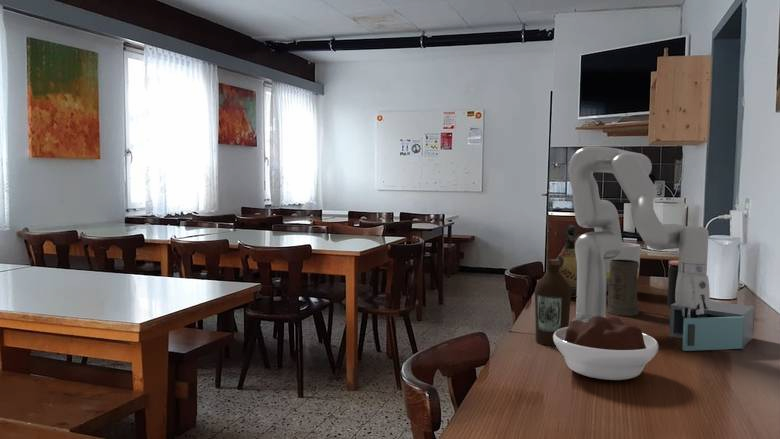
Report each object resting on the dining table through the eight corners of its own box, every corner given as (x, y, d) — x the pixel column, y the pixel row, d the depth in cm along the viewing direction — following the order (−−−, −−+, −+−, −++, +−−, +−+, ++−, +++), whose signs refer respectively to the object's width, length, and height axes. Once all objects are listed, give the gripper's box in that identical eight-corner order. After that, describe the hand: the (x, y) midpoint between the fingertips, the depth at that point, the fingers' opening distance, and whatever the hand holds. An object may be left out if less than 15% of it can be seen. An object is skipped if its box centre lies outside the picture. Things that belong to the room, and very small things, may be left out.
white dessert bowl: (575, 354, 170) (576, 301, 169) (669, 372, 155) (671, 314, 154) (535, 375, 151) (536, 316, 150) (638, 399, 135) (641, 333, 134)
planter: (591, 295, 258) (593, 245, 257) (590, 287, 277) (592, 241, 275) (641, 298, 253) (642, 247, 251) (636, 290, 271) (638, 242, 270)
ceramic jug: (588, 300, 247) (590, 227, 245) (549, 298, 250) (551, 226, 248) (583, 292, 264) (586, 224, 262) (547, 291, 267) (549, 223, 265)
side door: (746, 349, 175) (748, 317, 175) (686, 351, 172) (687, 319, 172) (742, 347, 177) (743, 316, 177) (682, 349, 174) (683, 318, 174)
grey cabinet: (740, 348, 177) (742, 314, 177) (669, 336, 191) (670, 304, 190) (753, 338, 189) (754, 306, 189) (684, 327, 203) (686, 297, 202)
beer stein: (632, 317, 216) (636, 261, 216) (602, 313, 222) (605, 259, 222) (644, 313, 228) (647, 260, 228) (615, 309, 235) (618, 258, 234)
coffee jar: (691, 306, 238) (693, 260, 237) (702, 311, 227) (704, 264, 226) (663, 305, 239) (665, 259, 238) (673, 311, 228) (675, 263, 227)
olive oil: (538, 335, 190) (540, 256, 189) (573, 340, 185) (575, 259, 183) (529, 343, 181) (531, 260, 179) (565, 348, 176) (567, 263, 174)
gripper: (721, 272, 169) (718, 337, 170) (688, 265, 184) (685, 324, 185) (696, 273, 168) (693, 338, 169) (665, 265, 183) (662, 325, 184)
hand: (689, 330), depth 177 cm, fingers closed
